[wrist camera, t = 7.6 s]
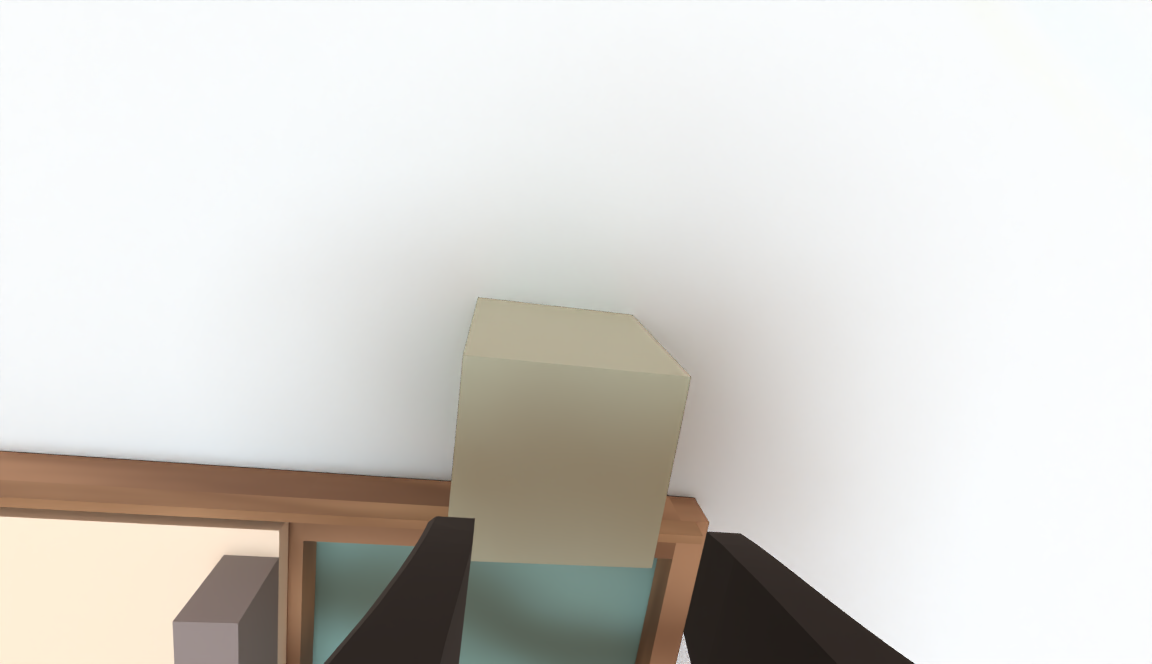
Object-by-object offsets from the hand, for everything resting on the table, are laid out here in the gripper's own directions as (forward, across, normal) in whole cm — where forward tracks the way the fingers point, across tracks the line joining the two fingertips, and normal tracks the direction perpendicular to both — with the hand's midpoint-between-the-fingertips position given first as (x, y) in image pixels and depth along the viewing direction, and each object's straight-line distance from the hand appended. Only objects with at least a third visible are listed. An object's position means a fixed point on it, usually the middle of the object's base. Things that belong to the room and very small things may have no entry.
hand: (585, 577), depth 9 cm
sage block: (+10, 0, 0) cm, 10 cm away
